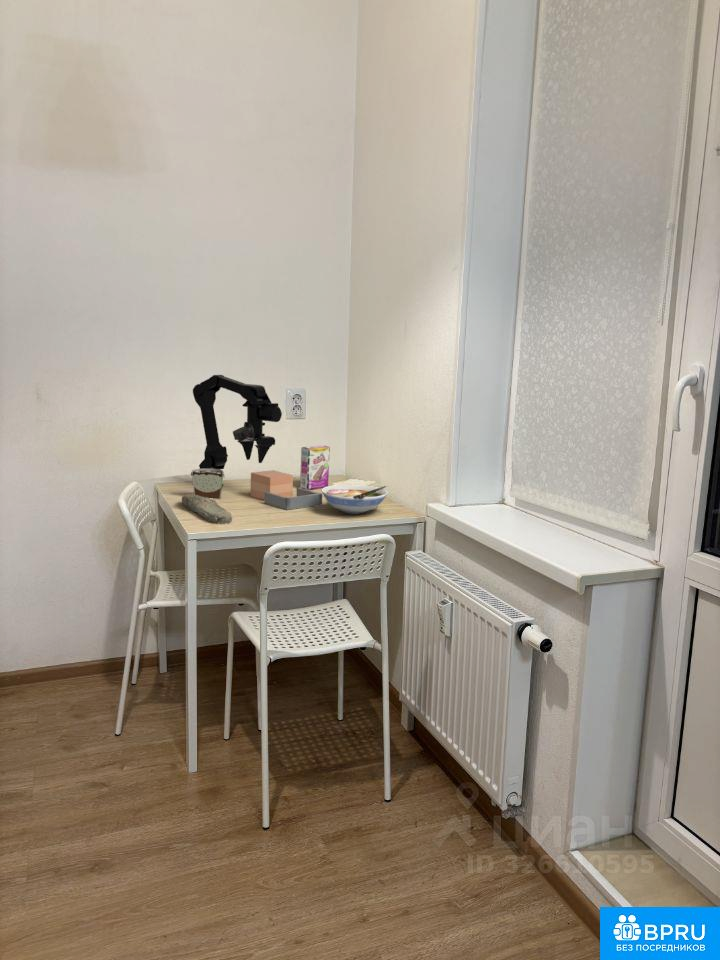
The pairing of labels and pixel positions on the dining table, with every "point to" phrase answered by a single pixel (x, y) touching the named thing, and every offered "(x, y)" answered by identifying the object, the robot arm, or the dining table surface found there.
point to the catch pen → (294, 499)
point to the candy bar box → (314, 467)
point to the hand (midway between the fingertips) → (254, 461)
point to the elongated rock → (207, 508)
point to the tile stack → (271, 484)
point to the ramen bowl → (354, 497)
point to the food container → (207, 482)
